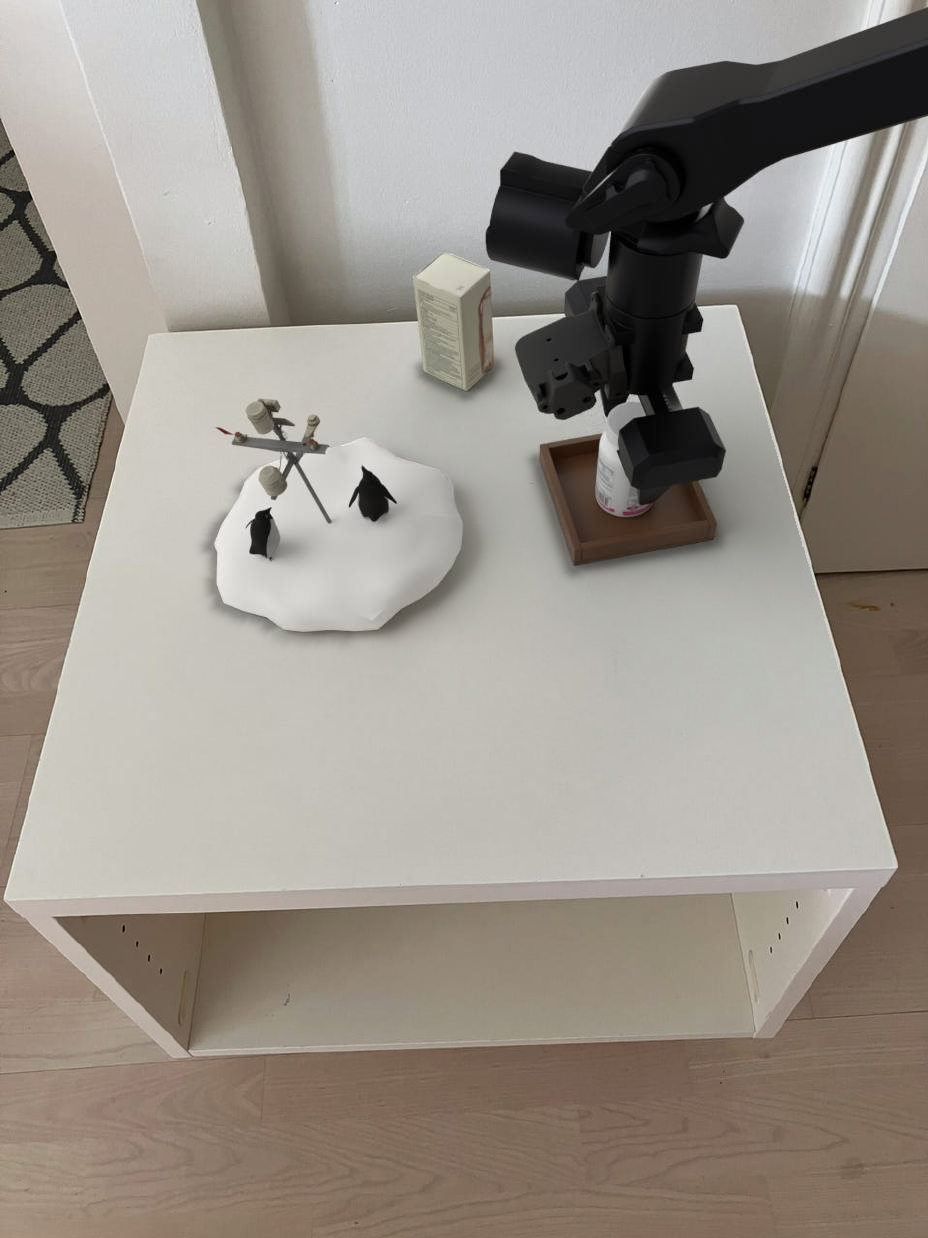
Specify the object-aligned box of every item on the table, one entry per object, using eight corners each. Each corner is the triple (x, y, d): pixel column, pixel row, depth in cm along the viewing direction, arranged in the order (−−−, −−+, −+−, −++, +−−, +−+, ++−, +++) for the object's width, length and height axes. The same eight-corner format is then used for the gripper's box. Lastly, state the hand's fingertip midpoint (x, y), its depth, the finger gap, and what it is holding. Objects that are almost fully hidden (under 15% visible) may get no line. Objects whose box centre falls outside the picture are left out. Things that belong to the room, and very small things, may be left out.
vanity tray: (669, 436, 85) (672, 420, 84) (713, 539, 79) (717, 524, 78) (539, 459, 84) (539, 443, 83) (573, 565, 78) (574, 550, 77)
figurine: (465, 442, 84) (432, 282, 71) (464, 629, 74) (425, 485, 61) (233, 464, 87) (158, 314, 73) (202, 647, 77) (108, 513, 63)
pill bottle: (659, 479, 82) (672, 403, 75) (649, 524, 80) (661, 449, 73) (601, 469, 83) (608, 392, 76) (589, 513, 81) (596, 438, 74)
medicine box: (496, 364, 91) (494, 270, 83) (466, 393, 89) (461, 299, 81) (450, 342, 93) (443, 247, 84) (420, 370, 91) (410, 276, 83)
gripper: (495, 221, 69) (498, 391, 82) (563, 413, 59) (555, 573, 72) (653, 196, 70) (632, 368, 83) (748, 381, 60) (706, 544, 73)
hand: (628, 457), depth 78 cm, fingers open, 9 cm apart
